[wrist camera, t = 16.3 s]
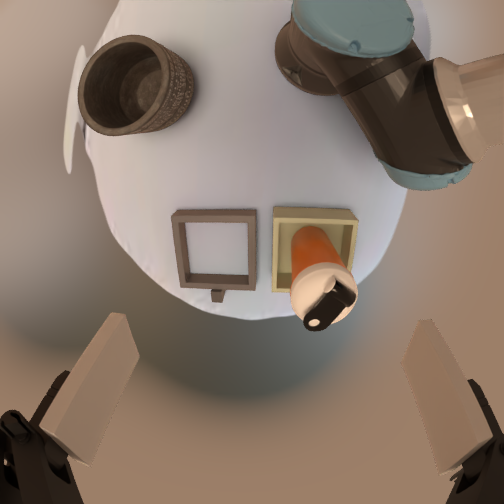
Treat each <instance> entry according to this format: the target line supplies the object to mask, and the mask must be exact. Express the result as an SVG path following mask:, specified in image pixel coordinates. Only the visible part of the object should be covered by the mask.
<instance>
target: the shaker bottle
mask: <svg viewBox="0 0 504 504" xmlns="http://www.w3.org/2000/svg"><path fill="white" fill-rule="evenodd" d="M291 267H292V284H291V289H290V297H291V304H292V308H293V310H294V312H295V313H296V315H297V316H298V317H300V318H301V319H302V320H303V323H304V326H305V328H306V329H308V330H309V331H321V330H324V329H326V328H327V327H328V326H329V325H330V324H332V323H335V322H337V321H339V320H341V319H343V318H344V317H345V316H346V315H347V314H348V313H349V312H350V311H351V310H352V308H353V307H354V305H355V302H356V300H357V295H358V291H357V286H356V283H355V281H354V278H353V276H352V274H351V273H350V271H349V270H348V269H347V268H346V267H345V265H344V263H343V262H342V260H341V258H340V256H339V255H338V253H337V251H336V250H335V248H334V246H333V244H332V243H331V241H330V239H329V238H328V236H327V234H326V233H325V232H324V231H323V230H322V229H320V228H318V227H314V226H307V227H304V228H301V229H300V230H298V231H297V232H296V233H295V234H294V236H293V238H292V240H291Z"/></svg>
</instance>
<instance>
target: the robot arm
mask: <svg viewBox="0 0 504 504" xmlns="http://www.w3.org/2000/svg"><path fill="white" fill-rule="evenodd" d="M413 21H414V18H413V14H412V12H411V9H410V7H409V6H408V4H407V2H406V1H405V0H293V4H292V7H291V20H290V21H289V22H288V23H286V24H285V25H284V26H283V28H282V29H281V30H280V32H279V34H278V36H277V39H276V43H275V58H276V62H277V65H278V67H279V69H280V71H281V72H282V74H283V75H284V76H285V78H286V79H287V80H288V81H289V82H290V83H292V84H293V85H294V86H296V87H297V88H299V89H301V90H303V91H305V92H308V93H311V94H315V95H321V96H331V95H337V94H340V95H341V98H342V99H343V101H344V102H345V104H346V105H347V107H348V108H349V110H350V111H351V113H352V114H353V116H354V118H355V119H356V121H357V122H358V124H359V126H360V127H361V129H362V131H363V132H364V134H365V136H366V137H367V139H368V141H369V143H370V144H371V146H372V148H373V152H374V154H375V156H376V158H377V159H378V161H379V162H381V163H382V165H383V167H384V168H385V170H386V172H387V174H388V175H389V177H390V178H391V179H392V180H393V181H394V182H395V183H397V184H398V185H400V186H402V187H405V188H408V189H412V190H420V191H422V190H423V191H427V190H428V191H429V190H436V189H442V188H445V187H447V186H448V183H453V184H456V183H458V182H460V181H461V180H463V179H464V178H465V177H466V176H467V175H468V174H469V173H470V170H471V169H472V163H478V162H480V161H481V160H482V158H483V156H484V154H485V152H486V151H487V148H489V146H493V145H500V144H504V54H500V55H496V56H492V57H489V58H485V59H482V60H478V61H474V62H471V63H467V64H464V65H456V64H454V63H452V62H450V61H448V60H446V59H444V58H442V57H438V58H435V59H433V60H430V61H426V60H425V58H424V57H423V55H422V53H421V52H420V50H419V49H418V47H417V46H416V44H415V43H414V41H413V40H412V37H413V33H414V26H413ZM139 357H140V356H139V354H138V351H137V348H136V345H135V343H134V340H133V337H132V334H131V331H130V328H129V325H128V322H127V319H126V315H125V314H119V313H111V314H110V315H109V316H108V318H107V319H106V321H105V322H104V324H103V325H102V326H101V328H100V329H99V331H98V332H97V333H96V335H95V336H94V338H93V339H92V341H91V342H90V344H89V345H88V346H87V348H86V349H85V351H84V352H83V354H82V356H81V357H80V358H79V360H78V361H77V363H76V365H75V366H74V368H73V370H72V371H71V372H69V371H66V370H65V371H64V372H63V373H61V374H60V375H59V376H58V377H57V378H56V379H55V381H54V382H53V384H52V385H51V388H50V389H49V390H48V392H47V395H46V396H45V397H44V398H43V400H42V401H41V403H40V405H39V406H38V408H37V410H36V412H35V413H34V415H33V417H32V418H31V420H30V421H29V422H28V421H27V420H26V419H25V418H24V417H23V415H22V414H21V413H20V412H19V411H16V410H9V411H7V412H5V413H4V414H3V415H2V416H1V418H0V504H84V503H83V501H82V498H81V496H80V493H79V490H78V487H77V485H76V482H75V479H74V476H73V473H72V470H71V467H70V464H69V462H68V460H67V457H68V455H70V456H71V457H72V458H73V459H74V460H75V461H78V462H80V463H82V464H84V465H87V466H89V467H91V464H92V462H93V459H94V457H95V454H96V452H97V450H98V447H99V445H100V442H101V440H102V438H103V435H104V433H105V431H106V428H107V426H108V424H109V421H110V419H111V417H112V415H113V412H114V410H115V408H116V406H117V404H118V401H119V399H120V397H121V395H122V393H123V390H124V388H125V386H126V384H127V382H128V380H129V378H130V376H131V374H132V372H133V369H134V367H135V365H136V363H137V361H138V359H139ZM401 365H402V367H403V370H404V372H405V374H406V377H407V380H408V382H409V385H410V387H411V390H412V393H413V395H414V398H415V401H416V404H417V406H418V409H419V412H420V415H421V418H422V421H423V424H424V427H425V430H426V433H427V436H428V439H429V443H430V446H431V449H432V453H433V456H434V460H435V463H436V467H437V471H438V475H439V476H440V475H442V474H445V473H448V472H450V471H453V470H454V469H456V468H457V467H458V466H460V465H461V464H462V466H463V468H462V469H461V470H460V471H458V472H457V473H456V474H454V475H453V476H452V477H451V478H450V481H452V480H453V479H455V478H456V477H457V479H456V480H455V481H454V482H455V485H454V487H453V489H452V491H451V493H450V495H449V498H448V500H447V502H446V504H504V434H503V433H502V431H501V429H500V427H499V425H498V422H497V420H496V418H495V416H494V414H493V412H492V409H491V407H490V405H488V401H487V399H486V398H485V395H484V393H483V391H482V389H481V387H480V386H479V385H478V384H477V383H476V382H475V381H474V380H473V379H470V380H467V379H466V377H465V375H464V373H463V372H462V370H461V368H460V366H459V364H458V362H457V361H456V359H455V357H454V355H453V354H452V352H451V350H450V348H449V347H448V345H447V344H446V342H445V340H444V338H443V337H442V335H441V333H440V332H439V330H438V328H437V327H436V326H435V324H434V322H433V321H432V319H429V320H419V321H418V323H417V326H416V328H415V331H414V333H413V336H412V338H411V341H410V343H409V345H408V347H407V350H406V352H405V354H404V356H403V359H402V361H401ZM4 459H6V460H7V465H4Z"/></svg>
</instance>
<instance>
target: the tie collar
mask: <svg viewBox="0 0 504 504" xmlns="http://www.w3.org/2000/svg"><path fill="white" fill-rule="evenodd" d="M171 221H172V229H173V237H174V245H175V253H176V260H177V267H178V274H179V280H180V287H181V288H200V289H212V290H211V297H212V302H219V303H222V302H223V298H224V295H225V291H226V290H253V291H255V289H256V210H227V209H225V210H177V211H176V212H175V213H174V214H173V215H172V216H171ZM185 222H223V223H248V268H249V275H221V274H193V273H190V267H189V259H188V250H187V241H186V232H185Z"/></svg>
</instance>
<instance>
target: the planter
mask: <svg viewBox="0 0 504 504" xmlns="http://www.w3.org/2000/svg"><path fill="white" fill-rule="evenodd" d="M193 89H194V81H193V76H192V72H191V70H190V68H189V66H188V65H187V63H186V62H185V61H184V60H183V59H182V58H181V57H179V56H178V55H177V54H175V53H174V52H172V51H170V50H169V49H167V48H166V47H164V46H162V45H161V44H159V43H157V42H155V41H154V40H152V39H150V38H148V37H145V36H141V35H127V36H122V37H119V38H116V39H114V40H112V41H110V42H108V43H107V44H105V45H104V46H102V47H101V48H100V49H99V50H98V51H97V52H96V53H95V54H94V55H93V56H92V57H91V59H90V60H89V62H88V63H87V65H86V67H85V68H84V70H83V73H82V75H81V78H80V82H79V87H78V104H79V109H80V112H81V115H82V117H83V119H84V121H85V122H86V123H87V125H88V126H89V127H90V128H92V129H93V130H94V131H96V132H98V133H100V134H103V135H107V136H121V135H128V134H137V133H148V132H154V131H158V130H162V129H164V128H166V127H168V126H170V125H172V124H173V123H174V122H176V121H177V120H178V119H179V118H180V117H181V116H182V115H183V113H184V112H185V111H186V109H187V107H188V106H189V103H190V101H191V98H192V95H193Z"/></svg>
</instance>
